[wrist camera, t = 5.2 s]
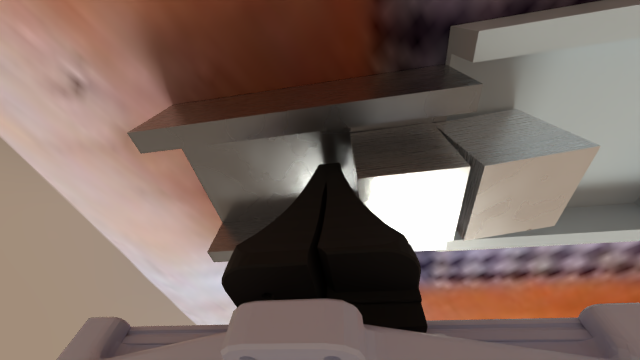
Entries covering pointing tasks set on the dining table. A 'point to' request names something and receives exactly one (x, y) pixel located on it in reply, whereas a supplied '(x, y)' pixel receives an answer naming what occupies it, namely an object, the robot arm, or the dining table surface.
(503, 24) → the tray
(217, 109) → the rail
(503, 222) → the beige cube
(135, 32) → the dining table surface
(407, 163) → the cream cube
